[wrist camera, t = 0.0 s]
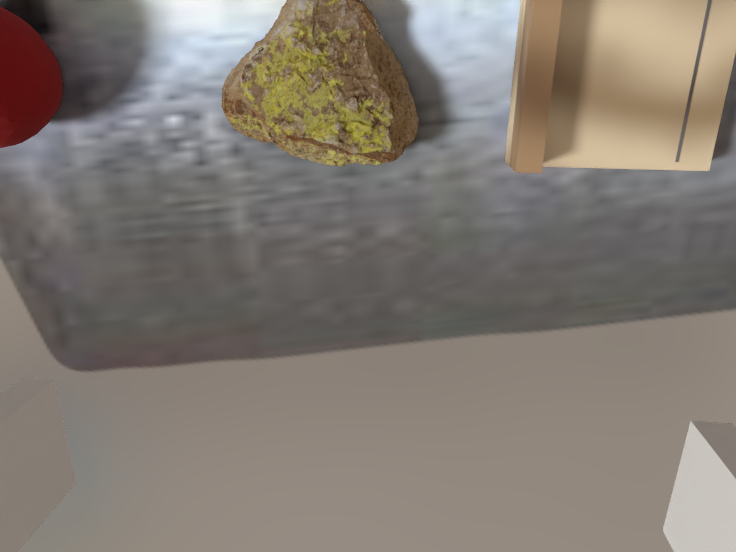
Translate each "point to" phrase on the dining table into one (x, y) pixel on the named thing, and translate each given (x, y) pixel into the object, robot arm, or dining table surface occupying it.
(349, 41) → the rock
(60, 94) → the apple
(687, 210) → the dining table surface
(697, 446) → the robot arm
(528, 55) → the board
